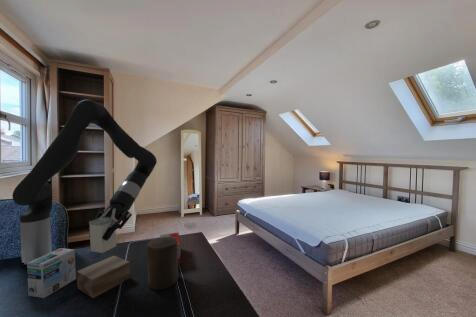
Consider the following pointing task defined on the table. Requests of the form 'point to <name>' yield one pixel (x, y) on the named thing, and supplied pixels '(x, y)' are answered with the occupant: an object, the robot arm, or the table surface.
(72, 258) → the light bulb box
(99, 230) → the pale grey tall block
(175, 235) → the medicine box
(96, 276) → the walnut block
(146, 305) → the table surface
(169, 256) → the pillar candle
